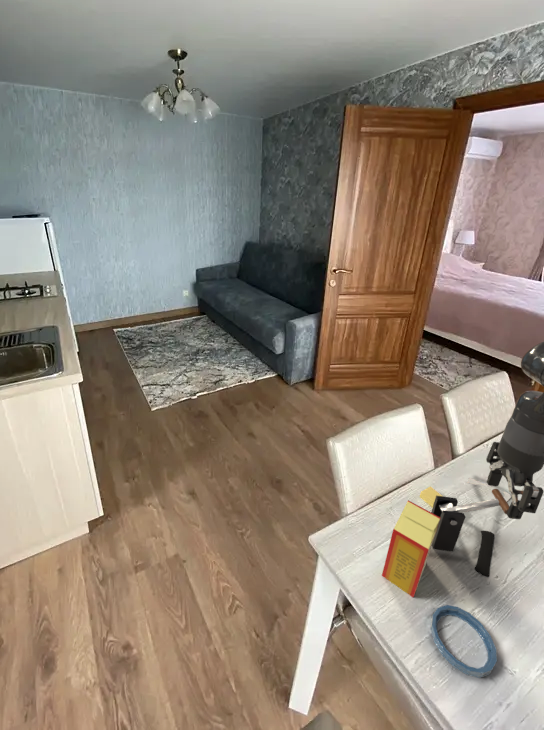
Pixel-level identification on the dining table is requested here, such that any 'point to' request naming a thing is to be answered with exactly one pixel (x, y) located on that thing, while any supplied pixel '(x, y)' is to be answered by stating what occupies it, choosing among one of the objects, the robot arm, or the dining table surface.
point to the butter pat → (429, 495)
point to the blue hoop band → (480, 630)
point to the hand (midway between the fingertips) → (501, 500)
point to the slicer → (447, 525)
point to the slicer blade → (479, 504)
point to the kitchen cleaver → (485, 541)
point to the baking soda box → (410, 547)
